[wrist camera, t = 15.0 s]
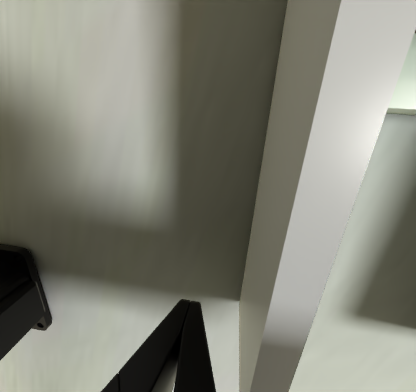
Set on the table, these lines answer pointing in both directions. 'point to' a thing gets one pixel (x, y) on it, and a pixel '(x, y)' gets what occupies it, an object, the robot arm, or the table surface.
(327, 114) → the drink tray
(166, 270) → the table surface
